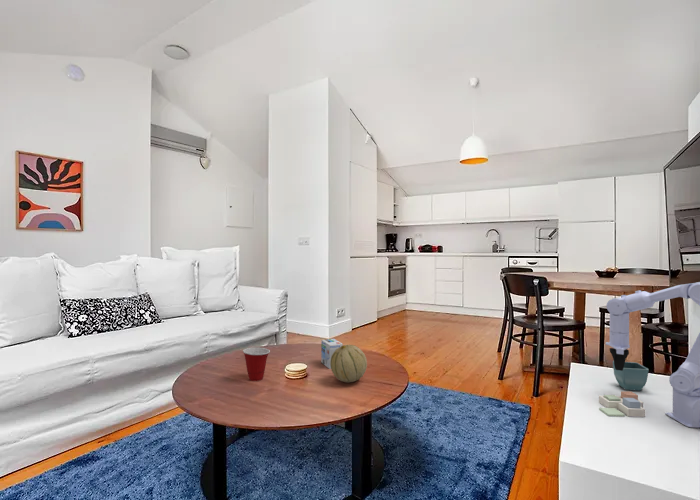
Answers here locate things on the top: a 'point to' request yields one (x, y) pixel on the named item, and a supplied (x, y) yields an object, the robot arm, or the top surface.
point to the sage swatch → (611, 412)
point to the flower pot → (631, 376)
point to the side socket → (631, 411)
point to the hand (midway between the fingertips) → (618, 369)
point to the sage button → (612, 398)
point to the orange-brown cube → (628, 395)
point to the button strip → (613, 402)
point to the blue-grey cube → (631, 403)
